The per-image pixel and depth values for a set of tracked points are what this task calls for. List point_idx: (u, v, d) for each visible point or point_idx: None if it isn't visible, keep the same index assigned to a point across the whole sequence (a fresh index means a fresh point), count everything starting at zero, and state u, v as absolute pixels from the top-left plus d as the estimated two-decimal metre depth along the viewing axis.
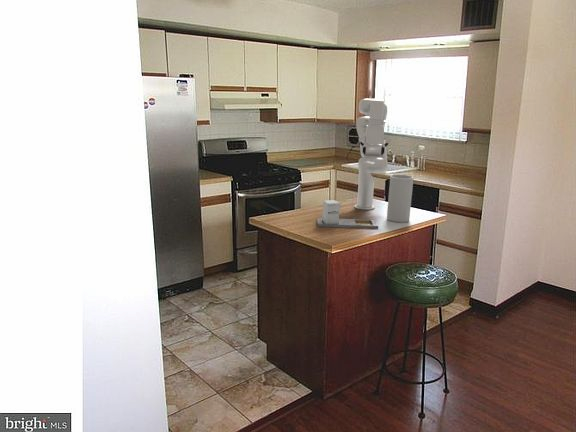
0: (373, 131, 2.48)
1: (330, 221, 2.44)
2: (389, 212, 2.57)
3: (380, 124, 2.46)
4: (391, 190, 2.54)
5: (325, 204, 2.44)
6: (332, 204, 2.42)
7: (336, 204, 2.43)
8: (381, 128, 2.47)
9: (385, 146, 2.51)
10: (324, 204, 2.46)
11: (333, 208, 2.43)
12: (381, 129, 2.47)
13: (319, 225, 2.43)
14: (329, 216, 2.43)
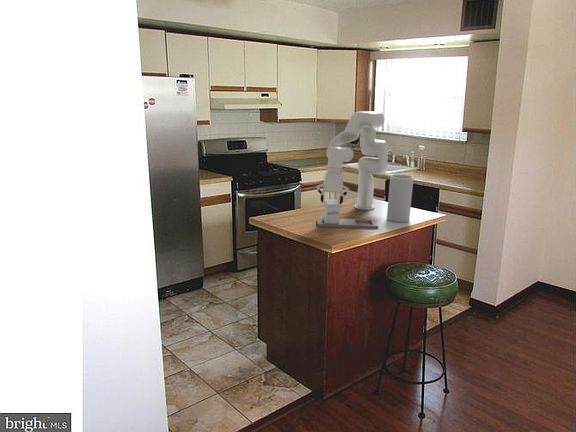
0: (331, 179, 2.38)
1: (330, 221, 2.44)
2: (389, 212, 2.57)
3: (339, 172, 2.36)
4: (391, 190, 2.54)
5: (325, 204, 2.43)
6: (332, 205, 2.40)
7: (336, 205, 2.40)
8: (340, 176, 2.38)
9: (344, 195, 2.41)
10: (324, 204, 2.44)
11: (332, 209, 2.41)
12: (340, 177, 2.38)
13: (319, 225, 2.43)
14: (329, 217, 2.43)
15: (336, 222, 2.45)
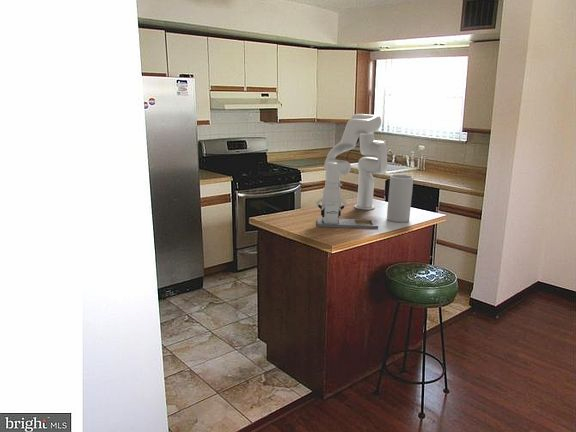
0: (329, 194, 2.42)
1: (329, 221, 2.45)
2: (389, 212, 2.57)
3: (336, 187, 2.40)
4: (391, 190, 2.54)
5: None
6: (331, 204, 2.42)
7: (335, 204, 2.42)
8: (338, 191, 2.41)
9: (341, 209, 2.45)
10: None
11: (331, 208, 2.43)
12: (338, 192, 2.42)
13: (319, 225, 2.43)
14: (328, 216, 2.44)
15: (335, 222, 2.45)
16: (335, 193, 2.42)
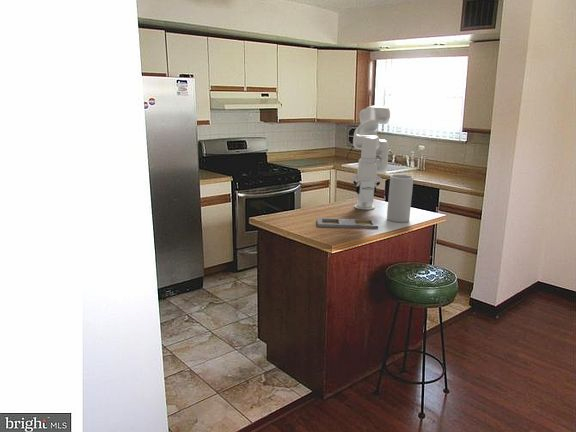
0: (365, 169, 2.38)
1: (364, 197, 2.40)
2: (389, 212, 2.57)
3: (373, 162, 2.36)
4: (391, 190, 2.54)
5: None
6: (367, 179, 2.38)
7: (371, 180, 2.38)
8: (374, 166, 2.37)
9: (377, 185, 2.41)
10: None
11: (367, 184, 2.39)
12: (374, 167, 2.37)
13: (319, 225, 2.43)
14: (363, 192, 2.40)
15: (370, 199, 2.41)
16: (371, 169, 2.37)
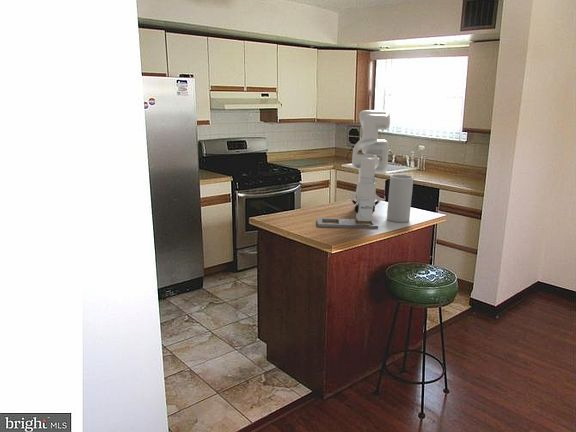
0: (364, 189, 2.40)
1: (363, 216, 2.43)
2: (389, 212, 2.57)
3: (371, 182, 2.39)
4: (391, 190, 2.54)
5: None
6: (365, 199, 2.41)
7: (370, 199, 2.41)
8: (372, 186, 2.40)
9: (375, 204, 2.44)
10: None
11: (366, 203, 2.41)
12: (372, 187, 2.40)
13: (319, 225, 2.43)
14: (362, 211, 2.42)
15: (369, 218, 2.43)
16: (370, 188, 2.40)
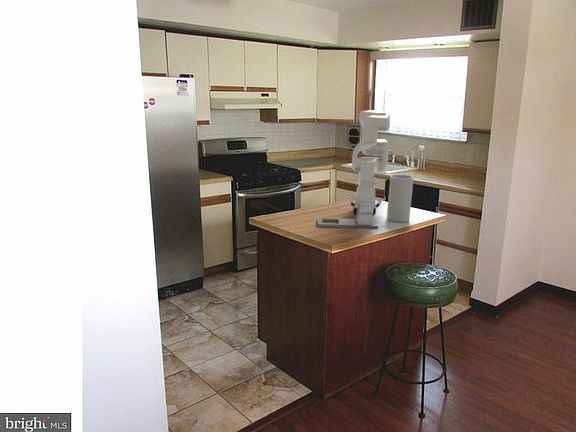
0: (364, 192, 2.41)
1: (363, 222, 2.44)
2: (389, 212, 2.57)
3: (371, 186, 2.39)
4: (391, 190, 2.54)
5: (359, 205, 2.44)
6: (365, 205, 2.41)
7: (370, 205, 2.41)
8: (372, 189, 2.40)
9: (376, 207, 2.44)
10: (358, 205, 2.46)
11: (366, 209, 2.42)
12: (372, 190, 2.41)
13: (319, 225, 2.43)
14: (362, 217, 2.43)
15: (369, 223, 2.44)
16: (370, 192, 2.41)
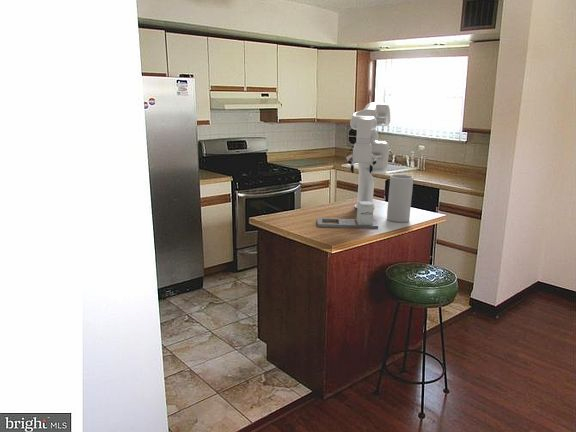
0: (360, 150, 2.44)
1: (363, 222, 2.44)
2: (389, 212, 2.57)
3: (368, 143, 2.42)
4: (391, 190, 2.54)
5: (359, 205, 2.44)
6: (365, 205, 2.41)
7: (370, 205, 2.41)
8: (369, 147, 2.44)
9: (373, 164, 2.48)
10: (358, 205, 2.46)
11: (366, 209, 2.42)
12: (369, 148, 2.44)
13: (319, 225, 2.43)
14: (362, 217, 2.43)
15: (369, 223, 2.44)
16: (366, 149, 2.44)
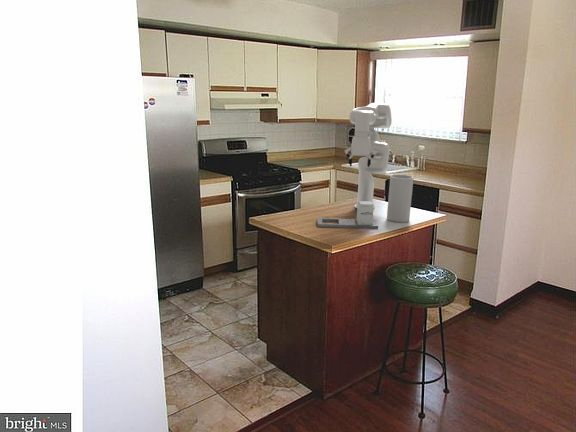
0: (359, 143, 2.46)
1: (363, 222, 2.44)
2: (389, 212, 2.57)
3: (366, 136, 2.44)
4: (391, 190, 2.54)
5: (359, 205, 2.44)
6: (365, 205, 2.41)
7: (370, 205, 2.41)
8: (367, 140, 2.46)
9: (371, 158, 2.49)
10: (358, 205, 2.46)
11: (366, 209, 2.42)
12: (367, 141, 2.46)
13: (319, 225, 2.43)
14: (362, 217, 2.43)
15: (369, 223, 2.44)
16: (364, 142, 2.46)
